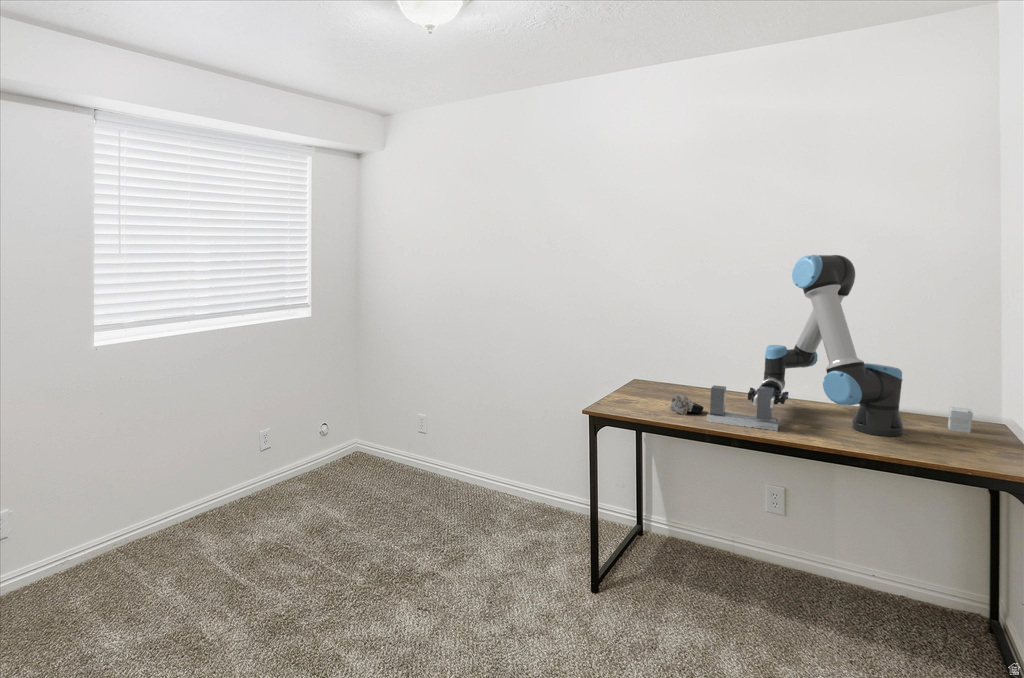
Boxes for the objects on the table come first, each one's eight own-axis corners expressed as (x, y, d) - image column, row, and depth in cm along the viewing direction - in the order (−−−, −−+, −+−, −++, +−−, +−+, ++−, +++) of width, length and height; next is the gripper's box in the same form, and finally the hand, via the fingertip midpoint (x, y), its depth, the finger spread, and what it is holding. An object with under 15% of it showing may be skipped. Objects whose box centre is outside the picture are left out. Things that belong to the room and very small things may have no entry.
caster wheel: (701, 417, 225) (697, 420, 216) (674, 408, 230) (668, 410, 221) (706, 401, 224) (702, 403, 215) (678, 392, 229) (673, 393, 220)
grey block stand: (779, 425, 205) (782, 391, 203) (777, 431, 198) (779, 396, 197) (710, 416, 217) (712, 384, 215) (706, 421, 210) (708, 388, 209)
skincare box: (947, 426, 204) (949, 406, 203) (968, 429, 201) (971, 408, 200) (948, 430, 199) (951, 410, 198) (971, 433, 196) (973, 412, 195)
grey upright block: (771, 417, 204) (773, 387, 203) (770, 420, 201) (772, 390, 199) (757, 415, 207) (759, 386, 205) (755, 418, 203) (757, 388, 201)
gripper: (795, 402, 214) (790, 417, 195) (745, 396, 223) (735, 410, 203) (797, 382, 213) (792, 395, 193) (746, 377, 222) (736, 389, 202)
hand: (763, 403), depth 198 cm, fingers closed on grey upright block, 5 cm apart
